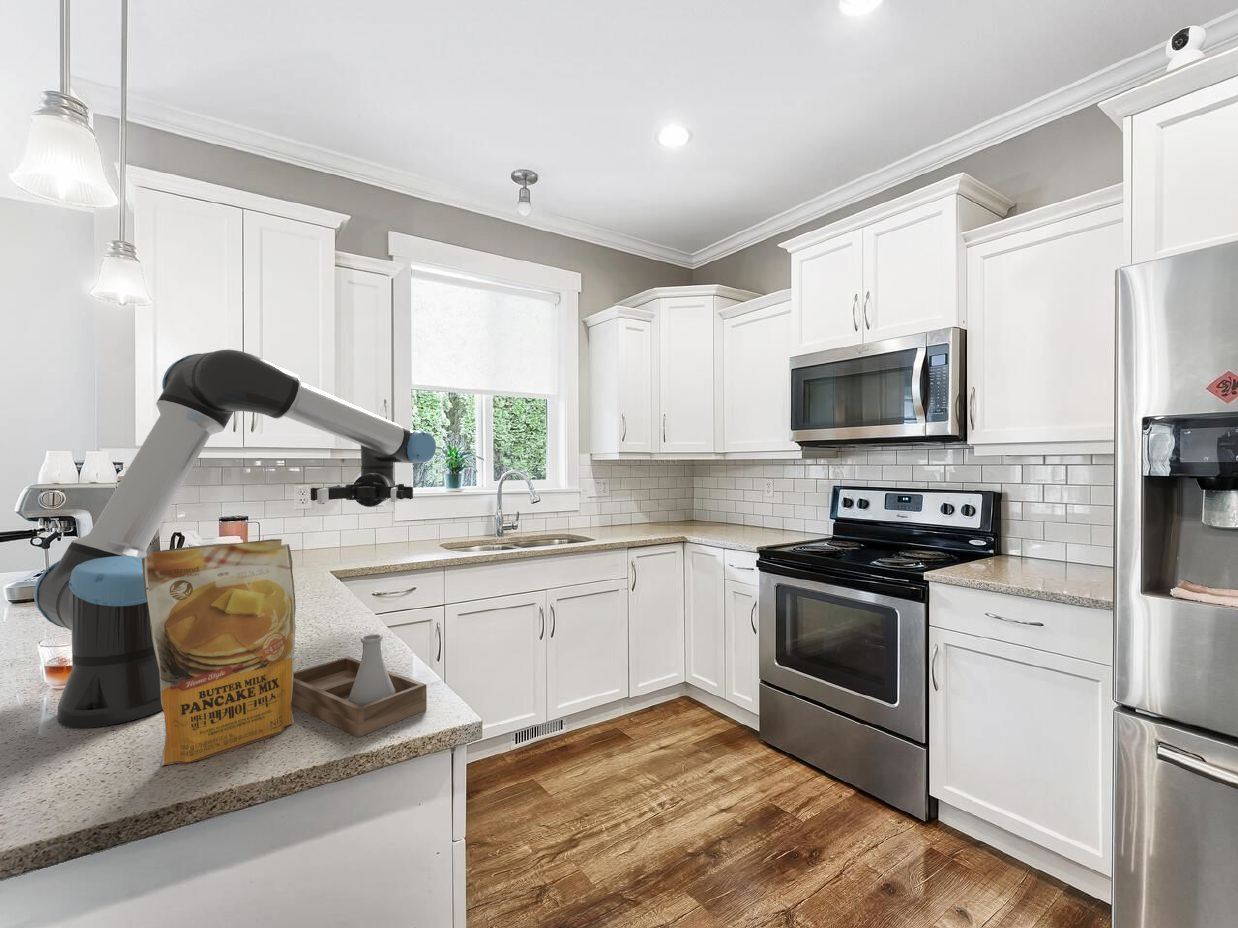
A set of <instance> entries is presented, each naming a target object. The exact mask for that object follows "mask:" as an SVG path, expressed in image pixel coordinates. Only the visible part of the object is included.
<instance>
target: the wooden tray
mask: <svg viewBox="0 0 1238 928" xmlns="http://www.w3.org/2000/svg"><path fill="white" fill-rule="evenodd" d="M360 663H361V660H359V659H356V658H353V657H350V656H346V657H343V658H338V659H335V660H332V661H329V662H324V663H321V664H318V665H314V666H312V667H308V668H304V669H301V670H298V671H293V689H292V701H291V706H293V707H295V708H297V709H299V710H301V711H304V712H306V713H307V714H310V715H311V716H313V717H316V718H318V719H320V720H321V721H324V722H326V723H327V724H330V725H332V726H334V727H335V728H336V727H337V728H339V729H340V730H342V731H344V732H347V733H348V734H350V735H353V736H355V737H357V738H361V737H364V736H365V735H366V736H367V735H368V734H370V733H373V732H375V731H377V730H380V729H383V728H385V727H387V726H388V727H389V726H390V725H392V724H394V723H395V724H396V723H397V722H399V721H402V720H404V719H407V718H409V717H412V716H415V715H417V714H419V713H421V712H423V711H427V707H428V706H427V705H428V704H427V701H428V700H427V697H428V696H427V695H428V693H427V683H424V682H420V681H418V680H415V679H412V678H409V677H407V676H404V675H401V674H399V673H396V672H393V671H390V670H387V672H388V675H389V677H390V679H391V682H392V684H393V686H394V689H395V691H396V694H393V695H390V696H388V697H385V698H382V699H380V700H377V701H374V702H371V703H369V704H366V705H363V706H361V707H360V706H358V705H356V704H353V703H351V702H349V701H348V698H349V695H350V693H351V690H352V687H353V684H354V682H355V679H356V676H357V672H358V669H359V666H360Z"/></svg>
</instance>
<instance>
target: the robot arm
mask: <svg viewBox="0 0 1238 928" xmlns="http://www.w3.org/2000/svg"><path fill="white" fill-rule="evenodd" d="M162 377H163V378H162V383H161V388H162V392H161V394H160V396H159V398H158V400H157V401H156V403H155V404H156V407H157V410H158V411H159V414H160V415H159V416H158V418H157V420H156V422H155V423H154V425H153V426H152V428H151V430H150V432H149V434H148V435H147V436H146V439H145V440H144V441H143V443H142V445H141V446H140V448H139V450H138V451H137V454H136V455H135V456H134V458H133V459H132V461H131V463H130V465H129V467H128V468H127V470H126V471H125V473H124V474H123V476H122V478H121V480H120V481H119V483H118V485H117V486H116V488H115V490H114V491H113V492H112V495H111V497H110V499H109V500H108V502H107V503H106V505H105V507H104V508H103V510H102V512H101V513H100V515H99V516H98V518H97V520H96V521H95V523H94V525H93V527H92V528H91V529H90V532H89V533H87V534H86V535H84V536H80V537H79V538H74V539H73V540H71V542H70V544H69V545H68V547H67V549H66V551H65V552H64V553H63V555H62V557H61V559H59V560H58V561H56V562H55V563H53V564H52V565H50V566H49V567H48V568H46V569H45V570H44V571H43V572H42V573H41V575H39V577H38V579H37V581H36V583H35V586H34V590H33V599H34V603H35V606H36V608H37V609H38V611H39V612H40V613H41V615H42V616H43V618H45V619H46V620H47V621H48V622H50V623H51V624H53V625H55V626H57V627H60V628H64V629H68V630H70V631H71V655H72V656H71V657H72V658H71V661H72V666H71V671H70V673H69V676H68V678H67V680H66V682H65V686H64V689H63V691H62V693H61V697H60V699H59V701H58V703H57V723H58V724H59V725H61V726H63V727H66V728H76V729H77V728H78V729H79V728H80V729H81V728H83V729H84V728H99V727H106V726H110V725H111V726H112V725H117V724H122V723H127V722H130V721H134V720H138V719H141V718H144V717H147V716H151V715H154V714H156V713H158V712H161V711H163V708H162V704H161V691H160V673H159V667H158V663H157V659H156V655H155V652H154V647H153V642H152V636H151V628H150V618H149V609H148V603H147V600H146V597H145V589H144V578H143V566H142V558H144V557H146V556H148V554H147V549H148V547H150V544H151V542H152V541H153V539H154V537H155V535H156V533H157V532H158V530H159V528H160V526H161V524H162V523H163V520H164V519H165V517H166V516H167V513H168V512H169V510H170V508H171V506H172V505H173V503H174V501H175V499H176V497H177V496H178V494H179V493H180V491H181V488H182V487H183V484H185V481H186V479H187V477H188V476H189V474H190V472H191V470H192V468H193V466H194V465H195V463H196V462H197V461H198V460H197V459H198V458H199V456H200V454H201V453H202V450H203V449H204V448H205V446H206V444H207V442H208V440H209V438H210V436H212V435H215V434H217V433H221V432H223V431H224V430H225V428H226V427H227V424H228V423H229V421H230V419H231V418H232V416H233V415H234V413H235V412H247V413H248V412H249V413H255V414H259V415H265V416H267V417H271V418H273V419H277V420H278V419H282V418H283V417H285V418H288V419H291V420H294V421H296V422H299V423H301V424H304V425H307V426H308V427H312V428H315V429H317V430H320V431H322V432H325V433H329V434H330V435H333V436H335V437H339V438H341V439H344V440H346V441H349V442H352V443H354V444H357V445H360V461H361V462H360V463H361V466H360V476H359V477H358V478H357V479H356V480H355V481H354V482H353V483H348V484H346V485H345V486H342V485H339V484H337V485H333V486H324V487H322V486H321V487H310V489H309V490H310V501H313V502H317V504H319V505H323V504H324V505H325V503H327V502H329V501H330V500H342V499H344V500H346V501H356V503H358V504H359V505H360V506H362V507H367V508H376V506H378V505H380V504H382V503H383V502H386V501H388V500H389V499H390V503H396V502H397V501H399V500H404V499H407V500H412V499H414V487H413V486H406V485H405V484H404V483H398V484H396V482H395V480H394V463H401V464H404V463H405V464H407V463H408V464H415V465H416V464H420V463H421V464H422V463H427V462H429V461H431V460H432V459H433V457H434V456H435V455H436V454H435V453H436V450H437V444H436V443H437V442H436V439H435V438H434V436H433V435H432V434H431V433H430V432H428V431H425V430H413V429H410V428H407V427H405V426H402V425H400V424H397V423H396V422H393V421H391V420H388V419H387V418H384V417H381V416H379V415H378V414H376V413H375V414H374V413H373V412H370V411H368V410H365V409H363V408H361V407H359V406H356V405H354V404H352V403H349V402H348V401H345V400H344V399H340V398H338V397H337V396H334V395H331V394H330V393H327V392H325V391H323V390H320V389H318V388H316V387H314V386H311V385H309V384H307V383H304V382H303V381H301V379H300V376H299V375H298V374H297V373H294V372H293V371H290V370H288V369H286V368H284V367H281V366H279V365H276V364H274V363H272V362H270V361H268V360H266V359H263V358H261V357H258V356H257V355H253V354H252V353H247V352H245V351H241V350H237V349H236V350H235V349H221V350H220V349H219V350H215V351H210V352H209V351H208V352H204V353H194V354H189V355H186V356H183V357H182V358H180V359H178V360H176V361H174V362H173V363H172V364H171V365H169V367H168V368H167V370H166V371H165V372H164V375H163V376H162Z"/></svg>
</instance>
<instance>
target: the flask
mask: <svg viewBox="0 0 1238 928" xmlns="http://www.w3.org/2000/svg"><path fill="white" fill-rule="evenodd" d="M383 638H384V637H383V634H380V633H372V634H371V633H369V634H365V635H361V637H360V642H361V643H362V652H361V653H362V654H361V659H360V661H361V663H360V666H359V669H358V672H357V676H356V679H355V682H354V684H353V687H352V690H351V693H350V695H349V698H348V701H349V702H351V703H353V704H356V705H358V706H360V707H361V706H363V705H366V704H369V703H371V702H374V701H377V700H380V699H382V698H385V697H388V696H390V695H393V694H396V691H395V689H394V686H393V684H392V682H391V679H390V677H389V675H388V672H387V671H388V669H387V666H386V664H385V662H384V657H383V652H382V646H381V645H382V642H381V641H382V640H383Z"/></svg>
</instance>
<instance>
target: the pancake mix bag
mask: <svg viewBox="0 0 1238 928" xmlns="http://www.w3.org/2000/svg"><path fill="white" fill-rule="evenodd" d="M142 566H143V578H144V589H145V597H146V600H147V603H148V609H149V618H150V628H151V636H152V642H153V647H154V652H155V655H156V659H157V663H158V667H159V673H160V691H161V704H162V708H163V710H162V711H163V716H164V726H165V729H164V731H165V737H164V745H163V749H162V754H161V760H160V762H159V763H160V764H159V767H163V766H168V765H171V764H190V763H194V762H199V761H200V760H204V759H208V758H211V757H213V756H217V755H220V754H224V753H226V752H227V753H228V752H230V751H233V750H236V749H239V748H241V747H243V746H247V745H250V744H253V743H257V742H260V741H264V740H267V739H268V738H272V737H274V736H278V735H279V734H281V733H284V730H285V728H286V727H288V726H291V725H292V724H294V723H295V719H294V715H293V710H292V705H291V701H292V689H293V672H294V661H295V659H294V657H295V642H296V639H295V638H296V619H295V618H296V610H297V607H296V593H295V584H294V582H295V581H294V575H293V558H292V553H291V547H290V544H289V543H286V544H282V538H280V539H279V538H277V539H275V538H271V539H270V538H269V539H263V540H253V541H252V540H251V541H246V542H233V543H213V544H205V545H195V546H186V547H178V548H177V547H176V548H170V549H163V550H162V549H161V550H155V551H153V552H151V553H149V554H147V556H146V557H144V558H142Z"/></svg>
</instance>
